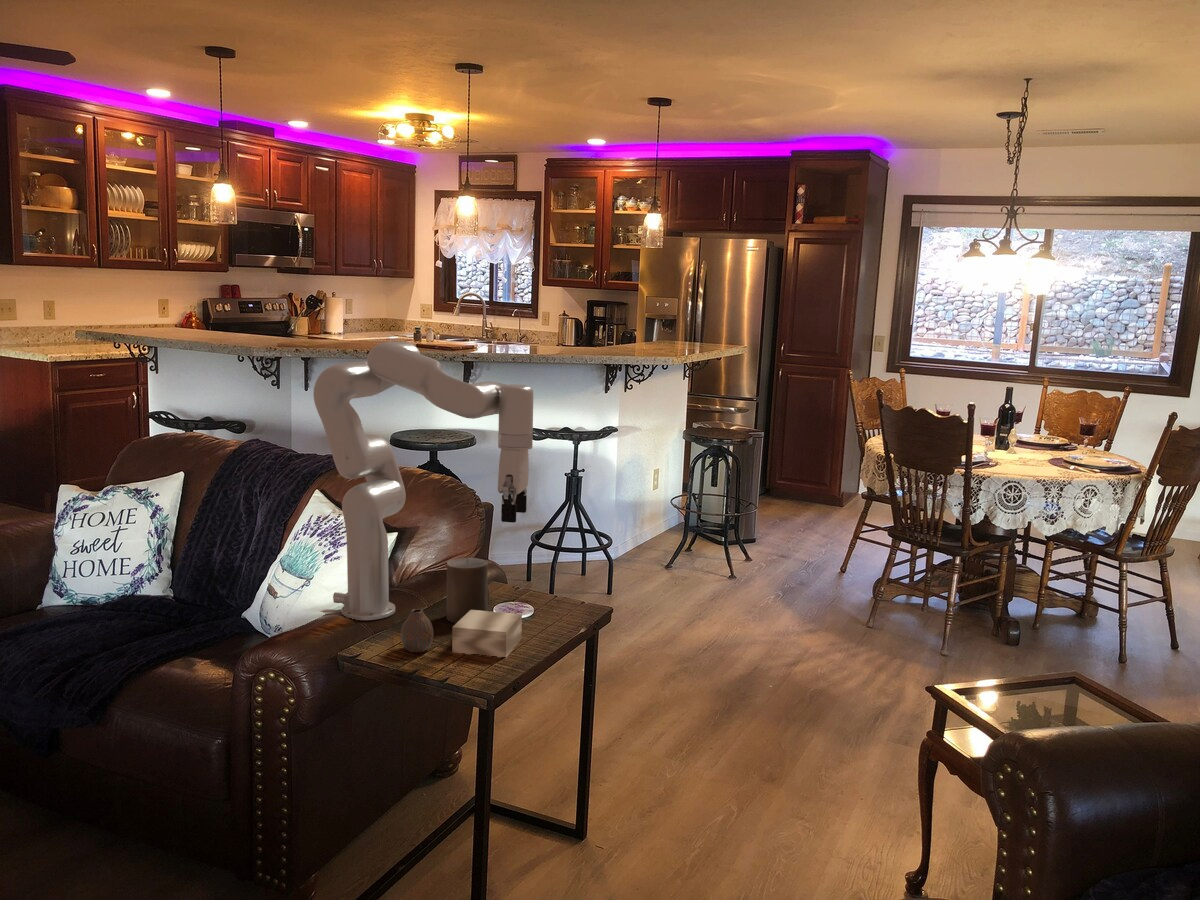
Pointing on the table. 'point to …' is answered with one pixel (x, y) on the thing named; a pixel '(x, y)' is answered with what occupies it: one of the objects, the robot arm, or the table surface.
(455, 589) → the pillar candle
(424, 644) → the vase
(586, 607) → the table surface
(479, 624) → the maple block
